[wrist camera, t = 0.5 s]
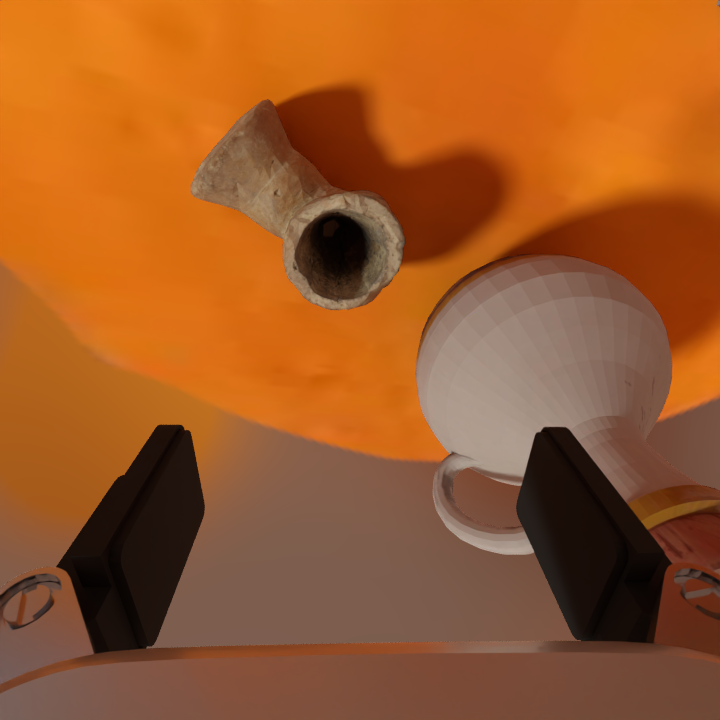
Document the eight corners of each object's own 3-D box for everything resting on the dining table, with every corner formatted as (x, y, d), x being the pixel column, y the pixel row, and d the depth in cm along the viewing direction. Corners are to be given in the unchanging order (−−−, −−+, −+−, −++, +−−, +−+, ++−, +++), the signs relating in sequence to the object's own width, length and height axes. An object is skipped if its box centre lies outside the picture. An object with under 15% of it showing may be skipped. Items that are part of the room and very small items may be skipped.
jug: (453, 432, 48) (586, 792, 22) (350, 323, 42) (357, 646, 15) (612, 327, 43) (1054, 636, 16) (521, 183, 36) (1013, 299, 10)
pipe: (260, 84, 32) (228, 62, 24) (415, 222, 37) (437, 247, 29) (201, 183, 36) (153, 197, 27) (351, 298, 41) (353, 342, 32)
